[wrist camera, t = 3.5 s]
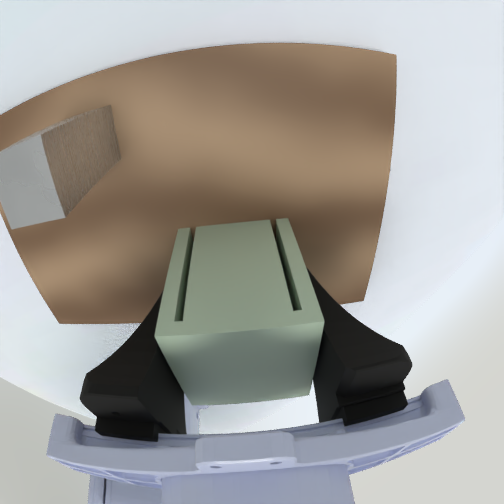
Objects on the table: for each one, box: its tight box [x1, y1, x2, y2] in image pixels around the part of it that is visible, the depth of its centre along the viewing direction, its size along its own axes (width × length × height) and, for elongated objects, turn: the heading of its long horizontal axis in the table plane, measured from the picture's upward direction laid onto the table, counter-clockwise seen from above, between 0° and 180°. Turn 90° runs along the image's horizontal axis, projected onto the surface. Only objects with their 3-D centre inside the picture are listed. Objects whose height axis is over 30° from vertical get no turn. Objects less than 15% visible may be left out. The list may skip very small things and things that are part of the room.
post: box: [0, 105, 121, 229], centre depth 8 cm, size 3×3×6 cm
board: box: [0, 43, 397, 324], centre depth 14 cm, size 15×22×1 cm
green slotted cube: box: [154, 218, 324, 405], centre depth 13 cm, size 5×5×7 cm
